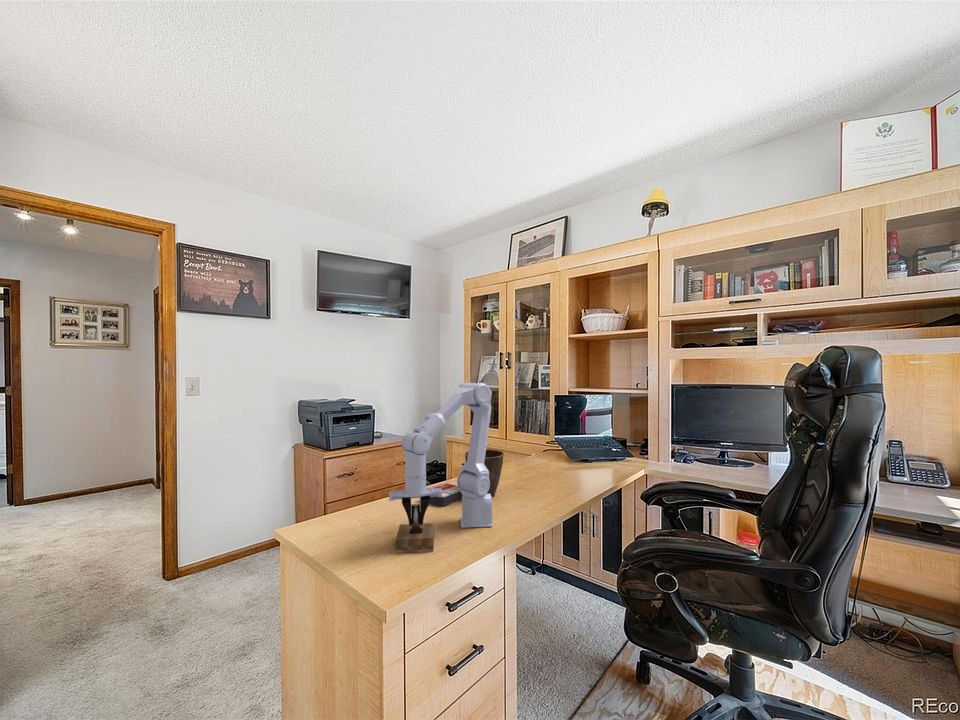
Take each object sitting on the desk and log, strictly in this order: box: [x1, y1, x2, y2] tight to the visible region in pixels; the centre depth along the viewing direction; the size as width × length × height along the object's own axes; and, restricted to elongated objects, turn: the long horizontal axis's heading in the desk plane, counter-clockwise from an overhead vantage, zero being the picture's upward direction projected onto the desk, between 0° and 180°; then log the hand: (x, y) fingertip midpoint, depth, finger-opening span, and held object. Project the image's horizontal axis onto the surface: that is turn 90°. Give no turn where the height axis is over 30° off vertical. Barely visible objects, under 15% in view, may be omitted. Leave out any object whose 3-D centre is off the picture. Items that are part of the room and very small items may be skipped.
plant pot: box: [464, 449, 505, 498], centre depth 150 cm, size 15×15×16 cm
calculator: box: [429, 483, 462, 508], centre depth 147 cm, size 11×4×15 cm
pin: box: [411, 503, 420, 532], centre depth 110 cm, size 2×2×7 cm
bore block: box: [394, 522, 436, 554], centre depth 110 cm, size 10×10×4 cm
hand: (415, 524), depth 110 cm, fingers closed on pin, 2 cm apart
